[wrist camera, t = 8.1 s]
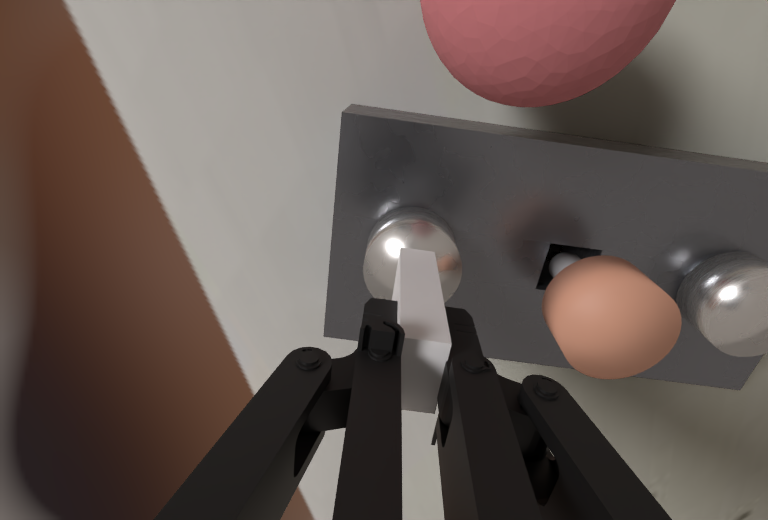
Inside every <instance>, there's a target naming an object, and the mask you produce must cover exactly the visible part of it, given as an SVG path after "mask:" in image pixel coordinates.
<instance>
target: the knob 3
mask: <svg viewBox="0 0 768 520" xmlns="http://www.w3.org/2000/svg"><path fill="white" fill-rule="evenodd" d="M676 304H677V306H678V308H679V310H680V313H681V316H682V317H683V318H684V319H685V320H686V321H687V322H688V323H690V324H691V325H692V326H693V327H694V328H695V329H696V330H697V331H698V332H700V333H701V334H702V335H703V336H704V337H705V338H706V339H707V340H708V341H710V342H711V343H712V344H713V345H714V346H715V347H716V348H717V349H719V350H720V351H722V352H724V353H726V354H728V355H732V356H737V357H752V356H758V355H763V354H766V353H768V262H767V261H765V260H764V259H762V258H760V257H758V256H756V255H754V254H751V253H748V252H740V251H735V252H726V253H722V254H719V255H716V256H713V257H711V258H709V259H707V260H705V261H703V262H702V263H700V264H699V265H697V266H696V267H695V268H694V269H693V270H691V271H690V272H689V274H688V275H687V276H686V277H685V278H684V280H683V281H682V283H681V285H680V287H679V289H678V292H677V298H676Z"/></svg>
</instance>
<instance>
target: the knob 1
mask: <svg viewBox="0 0 768 520" xmlns="http://www.w3.org/2000/svg"><path fill="white" fill-rule="evenodd" d="M400 247H402V248H410V249H417V250H425V251H432V252H435V257H436V262H437V267H438V273H439V278H440V283H441V289H442V294H443V300H444V303H445V302H446V301H447V300H448V299H450V298H451V296H452V295H453V294H454V293H455V291H456V290H457V288H458V286H459V283H460V280H461V276H462V261H461V258H460V254H459V251H458V248H457V245H456V241H455V238H454V235H453V232H452V230H451V228H450V227H449V225H448V224H447V223H446V221H445V220H444V219H443V218H442V217H440V216H439V215H438V214H436V213H434V212H432V211H430V210H427V209H424V208H420V207H404V208H399V209H396V210H394V211H391V212H389V213H388V214H386V215H384V216H383V217H382V218H381V219H380V220H379V221H378V222H377V223H376V224H375V226H374V227H373V229H372V230H371V232H370V235H369V238H368V243H367V248H366V254H365V259H364V265H363V275H364V280H365V283H366V286H367V288H368V290H369V291H370V293H371V294H372V296H373V297H374V298H378V299H386V300H392V296H393V290H394V284H395V277H396V271H397V265H398V259H399V252H400Z"/></svg>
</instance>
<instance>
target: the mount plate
mask: <svg viewBox="0 0 768 520" xmlns="http://www.w3.org/2000/svg"><path fill="white" fill-rule="evenodd" d="M404 207H420V208H424V209H427V210H430V211H432V212H434V213H436V214H438V215H439V216H440V217H442V218H443V219H444V220H445V221H446V223H447V224H448V225H449V227H450V228H451V230H452V232H453V235H454V238H455V241H456V245H457V248H458V251H459V254H460V258H461V261H462V276H461V280H460V283H459V286H458V288H457V290H456V291H455V293H454V294H453V295H452V296H451V298H450V299H448V300H447V301H446V302H445V303H444V305H445V306H446V307H454V308H461V309H465V310H466V311H467V312H468V313H469V314H470V315H471V316H472V318H473V321H474V325H475V328H476V332H477V335H478V339H479V342H480V346H481V349H482V353H483V356H484V357H486V358H494V359H502V360H509V361H517V362H525V363H533V364H540V365H548V366H556V367H564V368H572V369H575V368H574V367H572V366H571V365H570V363H569V362H568V361H567V359H566V358H565V356H564V354H563V352H562V351H561V349H560V347H559V345H558V343H557V342H556V340H555V338H554V336H553V334H552V333H551V331H550V329H549V327H548V326H547V324H546V322H545V320H544V317H543V313H542V300H543V296H544V293H545V291H546V288H547V287H548V285H549V283H550V282H551V281H552V279H553V277H552V275H551V274H550V272H549V263H550V261H546V260H545V259H546V256H547V253H548V250H549V246H550V243H553V244H560V245H564V247H563V250H562V252H573V253H575V254H576V255H577V256H578V257H579V258H580V259H584V258H588V257H592V256H601V255H607V256H615V257H619V258H622V259H625V260H627V261H628V262H630V263H632V264H633V265H634V266H636V267H637V268H638V269H639V270H640V271H641V272H642V273H644V274H645V275H646V276H647V277H648V278H649V279H651V280H652V281H653V282H654V283H655V284H656V285H658V286H659V287H660V288H661V289H662V290H663V291H665V292H666V293H667V294H668V295H669V296H670V297H671V298H672V299H673V300H674V301H675V303H676V298H677V292H678V289H679V287H680V285H681V283H682V281H683V280H684V278H685V277H686V276H687V275H688V274H689V272H690V271H691V270H693V269H694V268H695V267H696V266H697V265H699V264H700V263H702V262H703V261H705V260H707V259H709V258H711V257H713V256H716V255H719V254H722V253H726V252H735V251H740V252H748V253H751V254H754V255H756V256H758V257H760V258H762V259H764V260H765V261H767V262H768V163H764V162H757V161H750V160H743V159H736V158H729V157H722V156H715V155H708V154H701V153H694V152H687V151H680V150H673V149H665V148H658V147H651V146H644V145H637V144H630V143H623V142H616V141H609V140H602V139H595V138H588V137H581V136H574V135H567V134H560V133H553V132H546V131H539V130H532V129H525V128H517V127H510V126H503V125H496V124H489V123H482V122H475V121H468V120H461V119H454V118H447V117H440V116H433V115H426V114H419V113H412V112H405V111H398V110H391V109H384V108H377V107H369V106H362V105H355V104H351V105H350V106H349V107H347V108H346V109H345V110H344V111H343V112H342V117H341V129H340V141H339V154H338V166H337V178H336V190H335V203H334V215H333V227H332V239H331V252H330V264H329V276H328V288H327V301H326V313H325V325H324V337H331V338H339V339H346V340H354V341H359V333H360V328H361V325H362V318H363V312H364V305H365V303H366V302H367V301H368V300H369V299H370V298H374V297H373V296H372V294H371V293H370V291H369V290H368V288H367V286H366V283H365V280H364V275H363V265H364V259H365V254H366V248H367V243H368V238H369V235H370V232H371V230H372V229H373V227H374V226H375V224H376V223H377V222H378V221H379V220H380V219H381V218H382V217H383V216H384V215H386V214H388V213H389V212H391V211H394V210H396V209H399V208H404ZM681 321H682V324H681V331H680V334H679V337H678V339H677V341H676V343H675V345H674V346H673V348H672V349H671V350H670V352H669V353H668V354H667V355H666V356H665V357H664V358H663V359H662V360H661V361H659V362H658V363H657V364H655V365H654V366H652V367H651V368H649V369H647V370H645V371H643V372H641V373H638V374H636V375H633V376H634V377H641V378H649V379H657V380H665V381H673V382H680V383H688V384H696V385H704V386H711V387H719V388H727V389H735V390H740V389H741V388H742V386H743V385H744V383H745V382H746V380H747V379H748V377H749V376H750V374H751V373H752V371H753V370H754V368H755V367H756V365H757V364H758V362H759V360H760V359H761V357H762V356H763V355H758V356H752V357H737V356H732V355H728V354H726V353H724V352H722V351H720V350H719V349H717V348H716V347H715V346H714V345H713V344H712V343H711V342H710V341H708V340H707V339H706V338H705V337H704V336H703V335H702V334H701V333H700V332H698V331H697V330H696V329H695V328H694V327H693V326H692V325H691V324H690V323H688V322H687V321H686V320H685V319H684V318H683V317H682V316H681Z"/></svg>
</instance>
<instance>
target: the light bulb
mask: <svg viewBox="0 0 768 520" xmlns="http://www.w3.org/2000/svg"><path fill="white" fill-rule="evenodd" d="M675 1H676V0H420V2H421V8H422V14H423V20H424V23H425V27H426V30H427V33H428V36H429V38H430V41H431V43H432V45H433V47H434V49H435V51H436V53H437V55H438V56H439V58H440V60H441V61H442V63H443V64H444V65H445V66H446V68H447V69H448V70H449V72H450V73H451V74H452V75H453V77H454V78H456V79H457V80H458V81H459V82H460V83H461V84H463V85H464V86H465V87H466V88H468V89H469V90H471V91H472V92H474V93H475V94H477V95H479V96H481V97H483V98H485V99H487V100H490V101H493V102H497V103H500V104H504V105H509V106H516V107H540V106H548V105H553V104H557V103H561V102H565V101H568V100H571V99H574V98H576V97H579V96H581V95H583V94H585V93H587V92H589V91H591V90H593V89H595V88H597V87H598V86H600V85H602V84H603V83H605V82H606V81H608V80H609V79H611V78H612V77H614V76H615V75H616V74H618V73H619V72H620V71H621V70H622V69H623V68H625V67H626V66H627V65H628V64H629V63H630V62H631V61H632V60H633V59H634V58H635V57H636V56H637V55H638V54H639V53H640V52H641V51H642V50H643V49H644V48H645V47H646V45H647V44H648V43H649V42H650V40H651V39H652V38H653V37H654V35H655V34H656V33H657V32H658V30H659V29H660V27H661V25H662V24H663V22H664V20H665V19H666V17H667V15H668V13H669V12H670V10H671V8H672V7H673V5H674V3H675Z"/></svg>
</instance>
